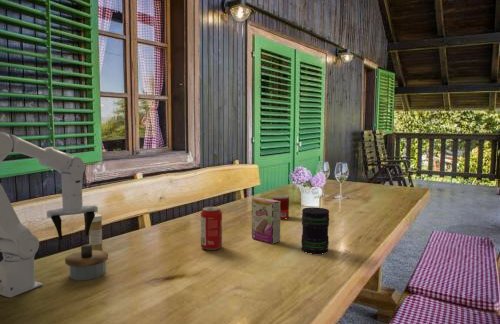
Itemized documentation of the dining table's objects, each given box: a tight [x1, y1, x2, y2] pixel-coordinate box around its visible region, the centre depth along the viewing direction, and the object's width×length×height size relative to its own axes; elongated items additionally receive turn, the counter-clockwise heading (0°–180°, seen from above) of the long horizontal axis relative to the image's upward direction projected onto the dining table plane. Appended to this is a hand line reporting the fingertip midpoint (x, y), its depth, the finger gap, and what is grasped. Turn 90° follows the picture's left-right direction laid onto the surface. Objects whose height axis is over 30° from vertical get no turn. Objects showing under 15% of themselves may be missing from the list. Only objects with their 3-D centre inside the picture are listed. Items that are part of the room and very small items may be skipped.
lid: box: [64, 244, 109, 267], centre depth 120 cm, size 12×12×5 cm
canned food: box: [272, 194, 290, 220], centre depth 193 cm, size 8×8×11 cm
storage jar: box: [300, 206, 330, 255], centre depth 143 cm, size 10×10×15 cm
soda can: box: [200, 206, 223, 251], centre depth 146 cm, size 8×8×15 cm
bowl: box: [68, 261, 107, 281], centre depth 120 cm, size 10×10×4 cm
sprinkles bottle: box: [88, 213, 104, 251], centre depth 140 cm, size 5×5×13 cm
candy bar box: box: [251, 197, 281, 245], centre depth 155 cm, size 11×5×16 cm, turn 47°
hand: (73, 237), depth 125 cm, fingers open, 7 cm apart
